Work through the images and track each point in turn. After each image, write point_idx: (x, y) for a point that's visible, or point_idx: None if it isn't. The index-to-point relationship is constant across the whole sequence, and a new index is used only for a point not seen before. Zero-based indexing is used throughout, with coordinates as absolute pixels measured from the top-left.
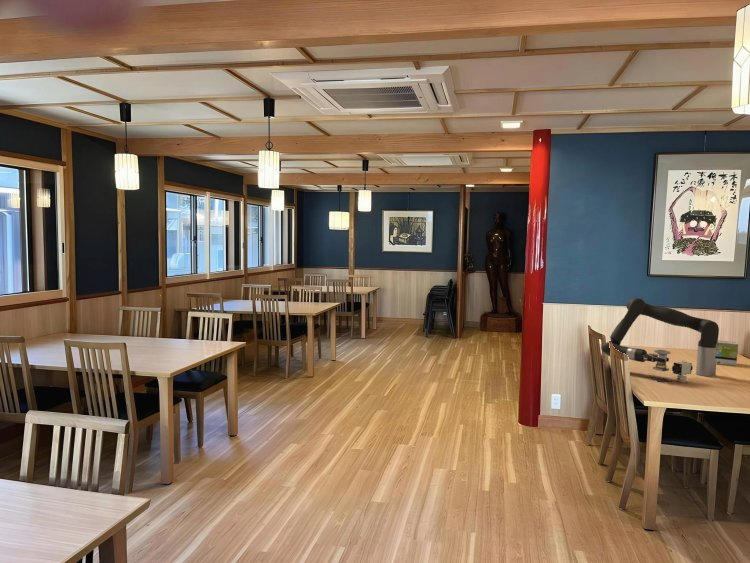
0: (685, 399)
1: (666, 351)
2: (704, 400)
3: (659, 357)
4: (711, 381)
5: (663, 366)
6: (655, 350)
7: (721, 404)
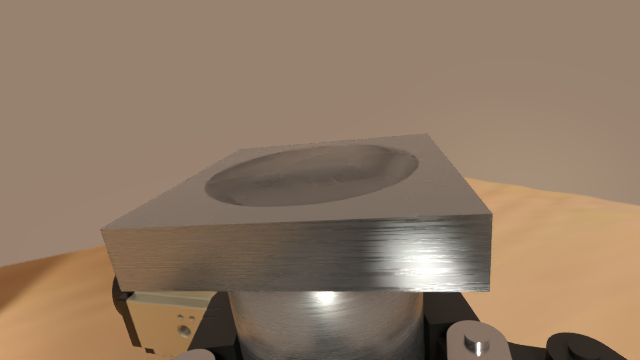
0: (623, 226)
1: (290, 153)
2: (526, 208)
3: (422, 300)
4: (102, 307)
5: None
6: (478, 197)
7: (499, 187)
